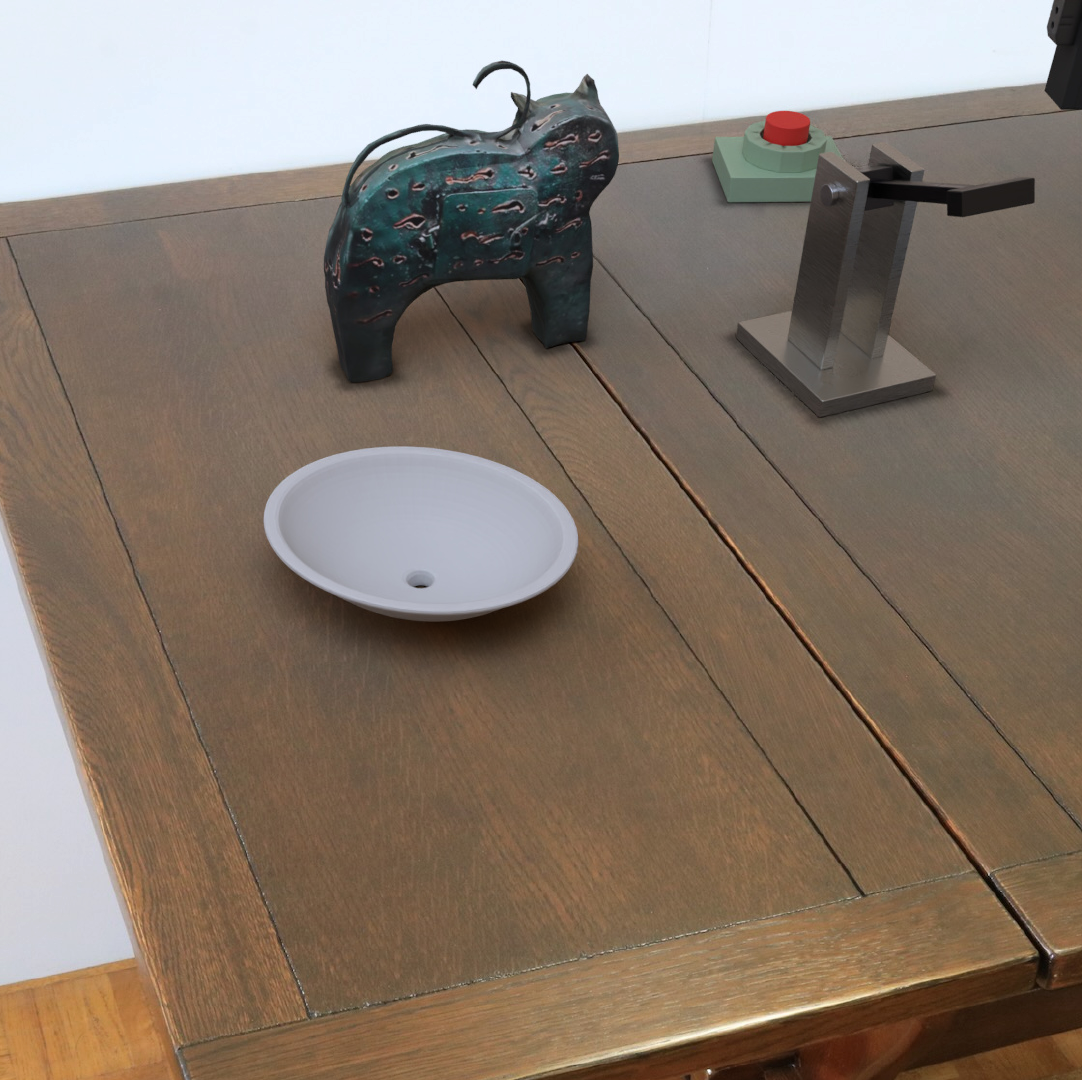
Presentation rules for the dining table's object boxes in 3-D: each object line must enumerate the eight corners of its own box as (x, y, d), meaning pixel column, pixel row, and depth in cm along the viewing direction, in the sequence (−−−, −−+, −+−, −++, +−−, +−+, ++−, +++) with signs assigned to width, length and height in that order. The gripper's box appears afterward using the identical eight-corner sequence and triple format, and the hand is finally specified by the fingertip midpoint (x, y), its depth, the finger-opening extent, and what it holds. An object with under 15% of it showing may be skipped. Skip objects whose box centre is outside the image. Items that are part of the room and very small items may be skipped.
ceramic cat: (583, 307, 111) (602, 32, 98) (620, 351, 106) (645, 68, 93) (321, 354, 106) (304, 69, 93) (348, 402, 101) (334, 109, 88)
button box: (827, 160, 131) (835, 115, 128) (848, 201, 125) (857, 155, 122) (711, 161, 130) (717, 115, 128) (727, 202, 124) (733, 156, 122)
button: (802, 130, 127) (805, 110, 125) (811, 148, 124) (814, 128, 123) (759, 130, 126) (762, 110, 125) (767, 149, 124) (770, 128, 123)
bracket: (932, 391, 103) (983, 185, 93) (819, 418, 100) (859, 209, 91) (843, 314, 111) (881, 117, 101) (735, 337, 108) (764, 137, 98)
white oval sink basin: (223, 633, 84) (214, 563, 80) (331, 489, 94) (327, 421, 90) (526, 714, 79) (530, 643, 76) (605, 554, 89) (611, 485, 86)
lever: (1035, 211, 87) (1035, 168, 86) (962, 226, 85) (962, 182, 85) (886, 199, 99) (885, 161, 99) (821, 212, 98) (819, 173, 97)
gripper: (1302, -408, 74) (1151, 73, 89) (1040, -410, 73) (933, 75, 89) (1381, -383, 68) (1205, 126, 84) (1098, -385, 67) (973, 128, 83)
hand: (1065, 99), depth 86 cm, fingers closed
